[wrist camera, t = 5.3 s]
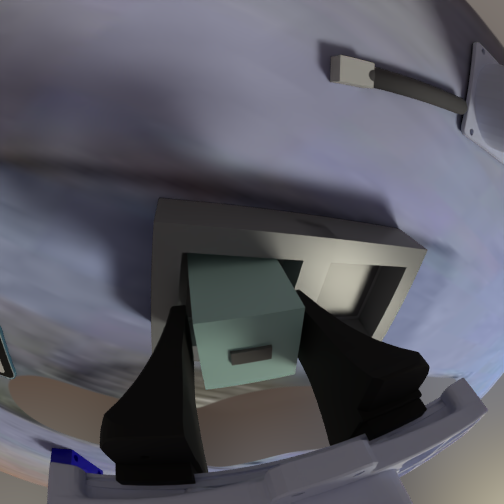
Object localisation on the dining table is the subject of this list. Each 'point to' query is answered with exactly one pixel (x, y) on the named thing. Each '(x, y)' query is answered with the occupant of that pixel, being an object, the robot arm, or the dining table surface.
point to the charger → (243, 318)
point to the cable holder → (73, 460)
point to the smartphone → (5, 359)
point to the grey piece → (287, 259)
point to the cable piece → (391, 83)
